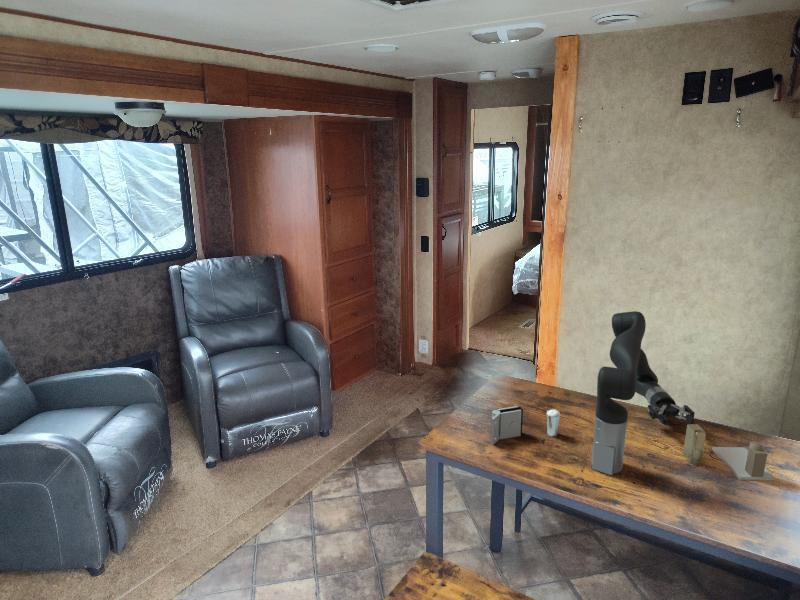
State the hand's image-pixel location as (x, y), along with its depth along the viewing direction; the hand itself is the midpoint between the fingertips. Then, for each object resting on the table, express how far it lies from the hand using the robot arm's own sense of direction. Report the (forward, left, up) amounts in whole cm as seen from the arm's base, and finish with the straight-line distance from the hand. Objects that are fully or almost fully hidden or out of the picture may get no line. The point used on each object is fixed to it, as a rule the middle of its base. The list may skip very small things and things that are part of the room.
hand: (679, 422), depth 181 cm
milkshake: (-21, +36, -7) cm, 42 cm away
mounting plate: (-3, -19, -7) cm, 21 cm away
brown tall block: (-9, -6, -7) cm, 13 cm away
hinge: (-33, +48, -7) cm, 59 cm away
